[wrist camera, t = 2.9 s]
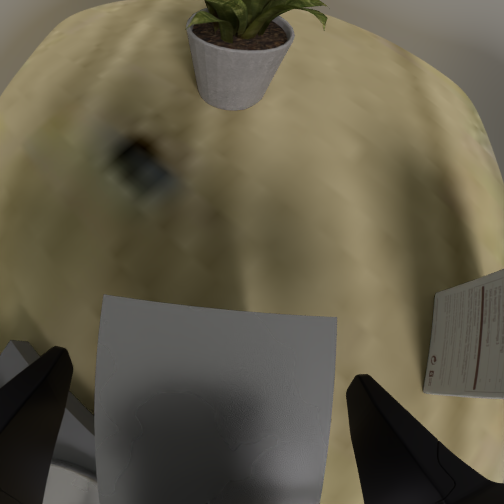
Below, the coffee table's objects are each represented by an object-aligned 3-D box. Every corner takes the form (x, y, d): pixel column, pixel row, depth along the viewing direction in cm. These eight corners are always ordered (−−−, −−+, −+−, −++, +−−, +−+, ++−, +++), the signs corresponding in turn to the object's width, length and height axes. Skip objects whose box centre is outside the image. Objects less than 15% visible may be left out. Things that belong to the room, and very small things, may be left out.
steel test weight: (246, 414, 15) (316, 516, 4) (163, 407, 14) (99, 503, 4) (252, 335, 16) (336, 317, 6) (168, 327, 16) (103, 294, 5)
